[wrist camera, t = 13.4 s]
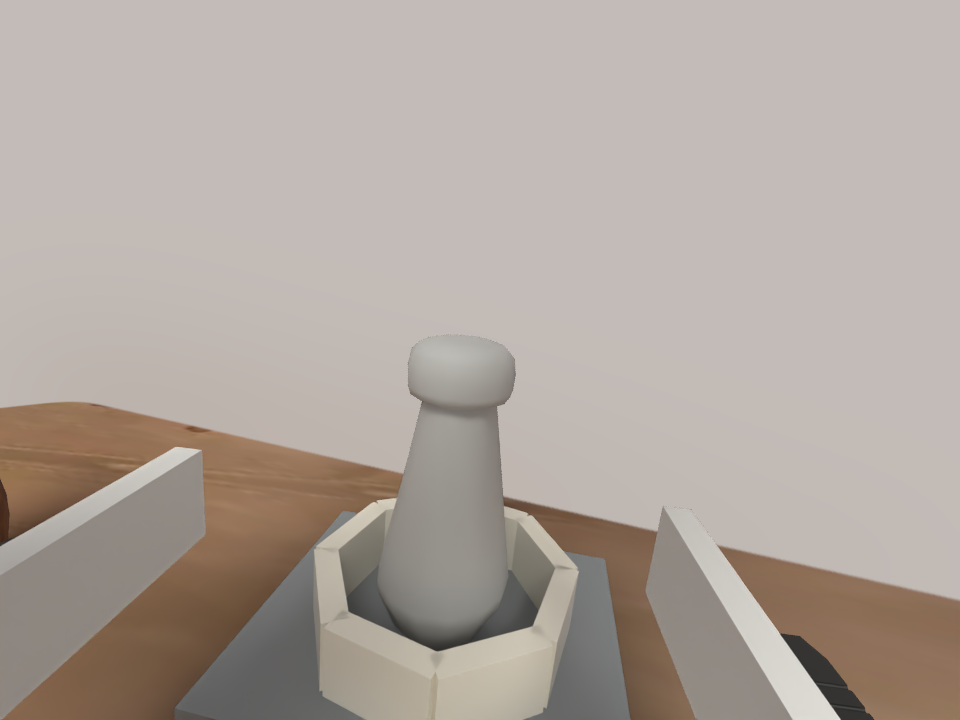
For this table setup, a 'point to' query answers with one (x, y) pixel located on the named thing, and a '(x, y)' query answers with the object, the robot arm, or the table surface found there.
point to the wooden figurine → (3, 514)
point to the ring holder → (449, 673)
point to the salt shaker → (450, 496)
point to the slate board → (292, 644)
